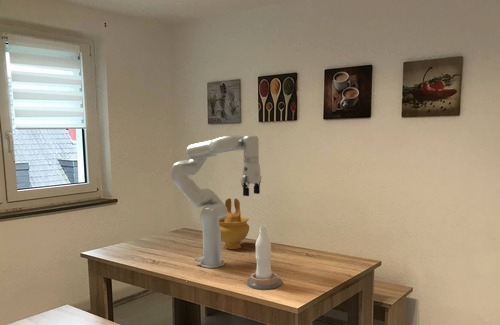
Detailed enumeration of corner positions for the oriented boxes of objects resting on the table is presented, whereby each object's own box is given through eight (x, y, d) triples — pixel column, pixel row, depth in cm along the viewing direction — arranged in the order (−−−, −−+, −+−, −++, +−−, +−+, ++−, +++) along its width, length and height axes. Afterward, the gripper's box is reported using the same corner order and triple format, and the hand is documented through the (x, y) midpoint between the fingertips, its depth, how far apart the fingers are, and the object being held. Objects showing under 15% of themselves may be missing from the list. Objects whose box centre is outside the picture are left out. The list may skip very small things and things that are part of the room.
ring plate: (249, 290, 172) (249, 282, 172) (244, 278, 188) (244, 271, 188) (285, 288, 174) (285, 280, 174) (277, 276, 190) (277, 269, 190)
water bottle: (255, 278, 184) (254, 225, 183) (270, 277, 185) (269, 224, 184) (256, 284, 177) (255, 228, 176) (272, 283, 178) (271, 227, 177)
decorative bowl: (211, 250, 238) (209, 200, 237) (221, 241, 259) (220, 196, 257) (245, 252, 234) (244, 201, 232) (253, 243, 254) (252, 196, 253)
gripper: (247, 161, 189) (248, 197, 190) (266, 159, 204) (266, 193, 204) (235, 161, 193) (235, 196, 194) (254, 159, 208) (254, 192, 209)
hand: (251, 194), depth 199 cm, fingers open, 9 cm apart
